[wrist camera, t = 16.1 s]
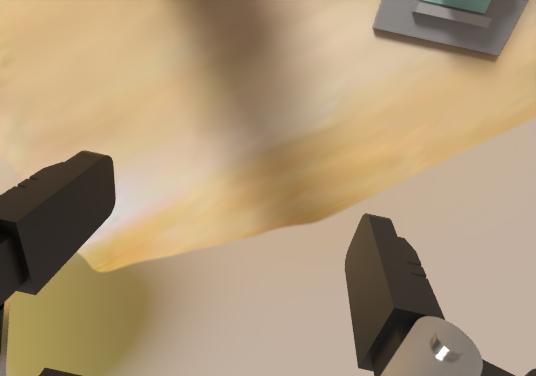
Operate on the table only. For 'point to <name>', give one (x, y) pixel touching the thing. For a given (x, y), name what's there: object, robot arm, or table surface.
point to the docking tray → (452, 21)
